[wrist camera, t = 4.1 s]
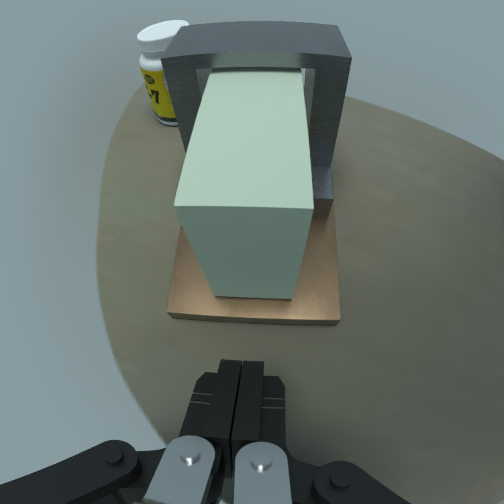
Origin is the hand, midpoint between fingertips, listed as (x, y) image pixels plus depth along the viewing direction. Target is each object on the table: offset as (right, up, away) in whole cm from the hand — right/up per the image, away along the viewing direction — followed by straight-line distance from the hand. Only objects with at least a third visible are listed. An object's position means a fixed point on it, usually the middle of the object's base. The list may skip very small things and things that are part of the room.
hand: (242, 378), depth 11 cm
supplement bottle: (-6, +17, +15) cm, 23 cm away
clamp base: (+1, +8, +10) cm, 12 cm away
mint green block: (+1, +6, +7) cm, 9 cm away
